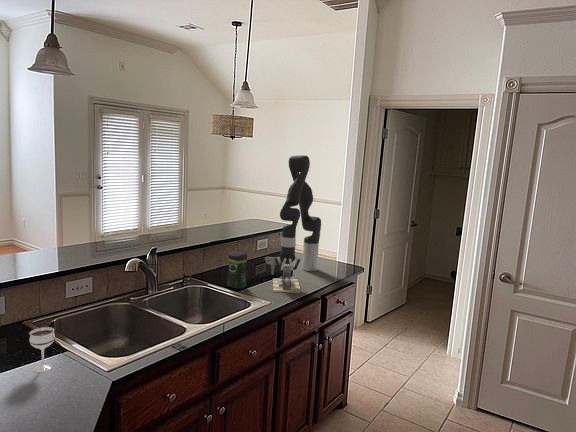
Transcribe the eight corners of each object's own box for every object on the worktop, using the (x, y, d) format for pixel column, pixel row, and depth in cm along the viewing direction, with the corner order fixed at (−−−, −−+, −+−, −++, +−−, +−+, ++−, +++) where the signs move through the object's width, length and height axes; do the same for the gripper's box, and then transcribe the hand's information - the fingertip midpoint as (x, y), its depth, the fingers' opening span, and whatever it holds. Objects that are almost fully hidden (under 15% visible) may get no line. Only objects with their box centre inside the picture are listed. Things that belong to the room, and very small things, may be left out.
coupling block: (282, 276, 224) (283, 264, 223) (289, 277, 224) (290, 265, 223) (282, 278, 220) (283, 266, 219) (290, 279, 220) (291, 267, 219)
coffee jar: (248, 286, 218) (250, 252, 215) (238, 290, 212) (240, 254, 209) (234, 282, 223) (236, 249, 221) (224, 286, 217) (225, 251, 214)
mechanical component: (280, 276, 241) (281, 259, 239) (263, 274, 243) (264, 257, 241) (281, 274, 244) (282, 258, 242) (264, 272, 246) (265, 256, 244)
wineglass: (43, 361, 133) (42, 325, 131) (60, 365, 131) (59, 329, 129) (24, 371, 126) (23, 334, 125) (42, 375, 125) (41, 338, 123)
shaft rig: (272, 277, 237) (273, 262, 236) (297, 278, 238) (298, 263, 236) (273, 294, 209) (274, 276, 207) (301, 295, 209) (302, 278, 208)
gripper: (301, 244, 224) (299, 275, 226) (274, 243, 223) (273, 274, 225) (302, 247, 216) (300, 279, 219) (274, 246, 216) (273, 278, 218)
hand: (286, 276), depth 222 cm, fingers closed on coupling block, 4 cm apart
